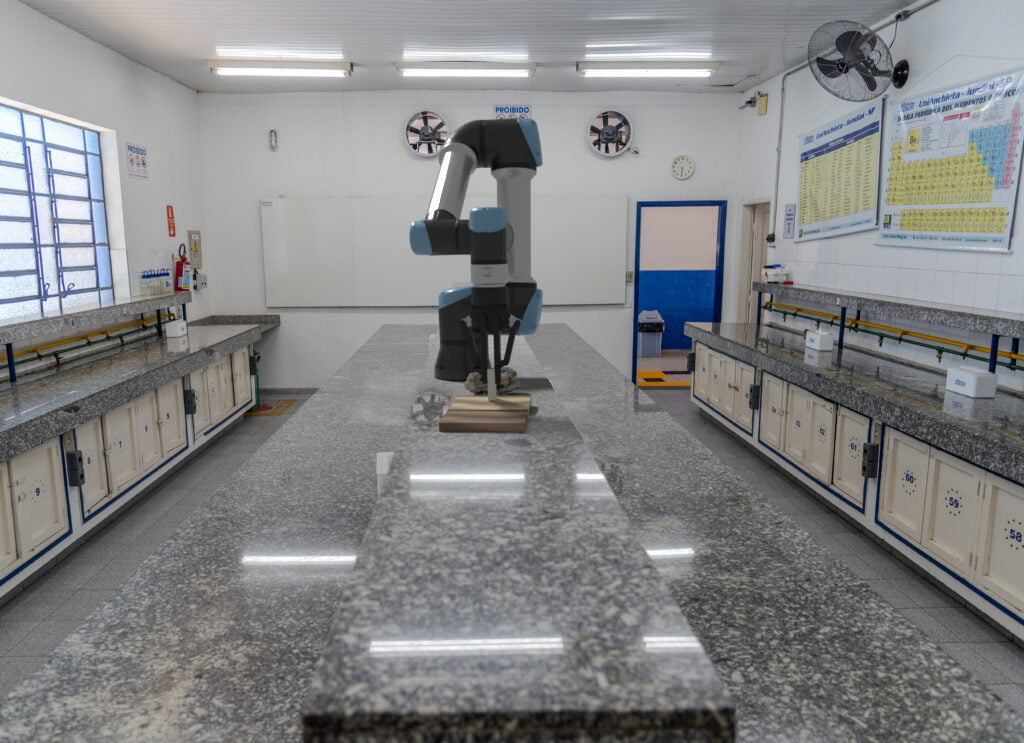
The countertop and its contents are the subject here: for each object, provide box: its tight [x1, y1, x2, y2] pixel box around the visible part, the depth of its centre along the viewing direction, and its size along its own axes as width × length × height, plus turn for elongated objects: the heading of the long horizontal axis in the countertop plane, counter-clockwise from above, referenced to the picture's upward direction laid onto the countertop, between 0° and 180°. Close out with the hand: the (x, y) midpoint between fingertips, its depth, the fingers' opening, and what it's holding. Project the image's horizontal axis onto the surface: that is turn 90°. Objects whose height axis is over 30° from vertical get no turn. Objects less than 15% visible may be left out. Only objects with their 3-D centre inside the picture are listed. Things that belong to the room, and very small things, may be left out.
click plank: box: [448, 395, 533, 418], centre depth 145 cm, size 10×16×2 cm, turn 85°
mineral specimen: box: [463, 366, 522, 396], centre depth 159 cm, size 12×9×8 cm
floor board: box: [438, 409, 529, 432], centre depth 134 cm, size 10×16×2 cm, turn 85°
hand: (492, 398), depth 146 cm, fingers closed
